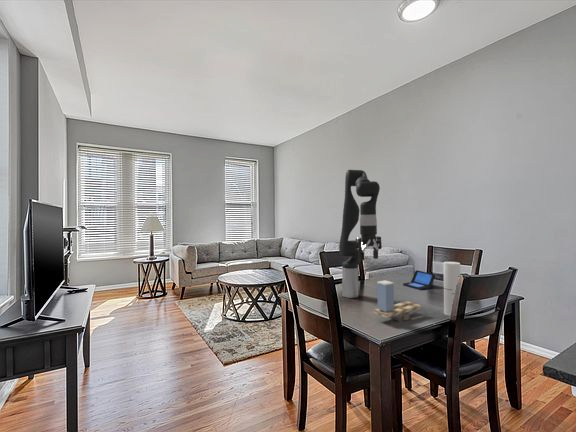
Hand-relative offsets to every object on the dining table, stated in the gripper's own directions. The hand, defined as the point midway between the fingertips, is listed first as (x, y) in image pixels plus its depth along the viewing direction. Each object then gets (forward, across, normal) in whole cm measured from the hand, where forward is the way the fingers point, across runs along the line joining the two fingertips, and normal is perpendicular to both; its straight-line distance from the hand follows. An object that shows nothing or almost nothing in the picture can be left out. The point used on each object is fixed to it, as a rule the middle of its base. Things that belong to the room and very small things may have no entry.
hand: (368, 259), depth 141 cm
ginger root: (+28, +14, -4) cm, 32 cm away
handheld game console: (+28, +72, +28) cm, 82 cm away
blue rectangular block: (+25, +5, -5) cm, 26 cm away
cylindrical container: (+29, +40, -15) cm, 51 cm away
